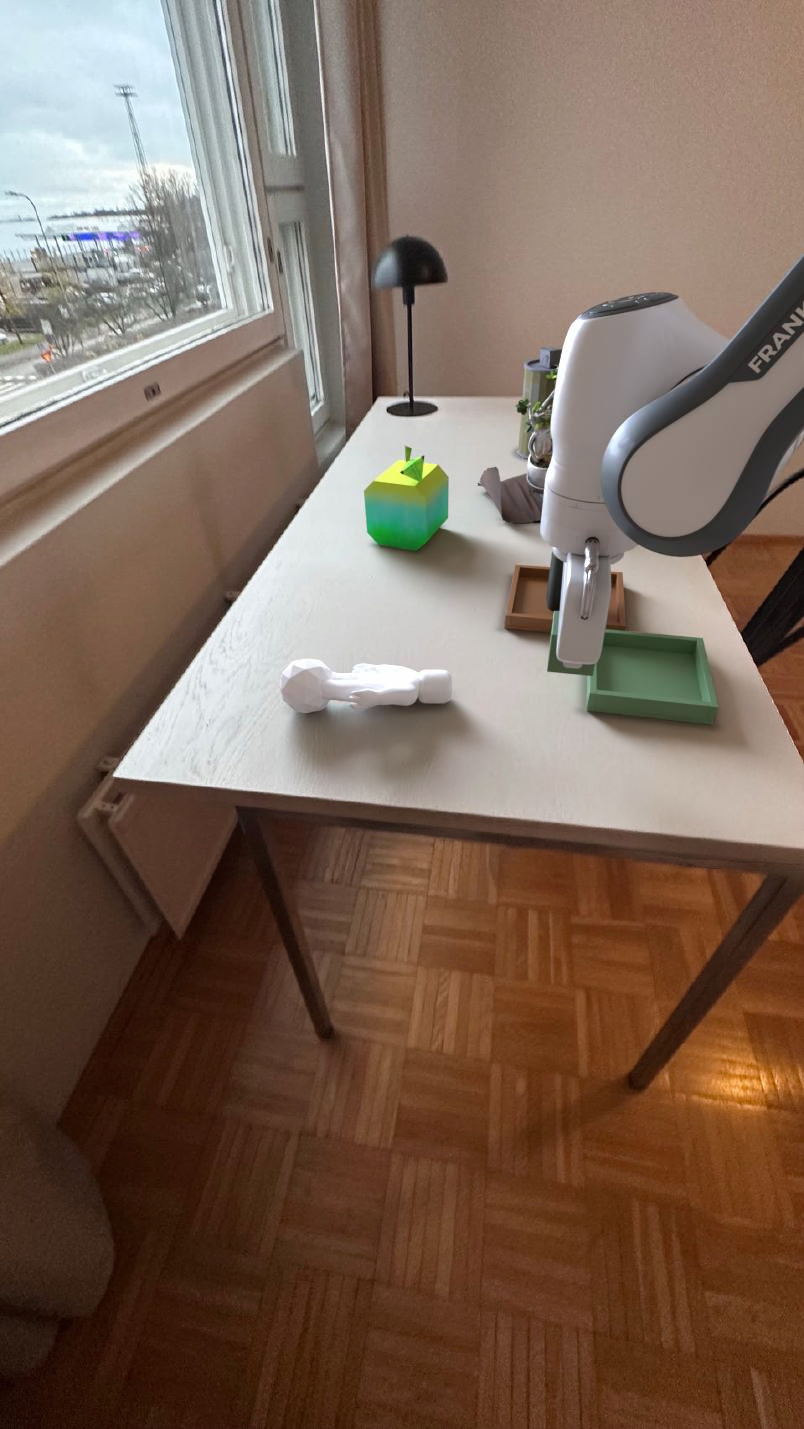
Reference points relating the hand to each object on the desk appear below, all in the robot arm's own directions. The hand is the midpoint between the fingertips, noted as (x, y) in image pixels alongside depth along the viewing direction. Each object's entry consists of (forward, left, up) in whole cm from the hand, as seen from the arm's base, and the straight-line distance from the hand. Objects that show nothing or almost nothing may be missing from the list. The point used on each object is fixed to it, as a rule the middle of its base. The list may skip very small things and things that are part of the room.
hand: (572, 647), depth 64 cm
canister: (+7, -89, -11) cm, 90 cm away
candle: (0, -26, -10) cm, 28 cm away
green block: (0, 0, -2) cm, 2 cm away
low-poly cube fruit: (+27, -45, -11) cm, 54 cm away
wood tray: (0, -26, -11) cm, 28 cm away
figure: (+22, 0, -11) cm, 25 cm away
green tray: (-10, -10, -11) cm, 18 cm away
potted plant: (+7, -62, -11) cm, 63 cm away
